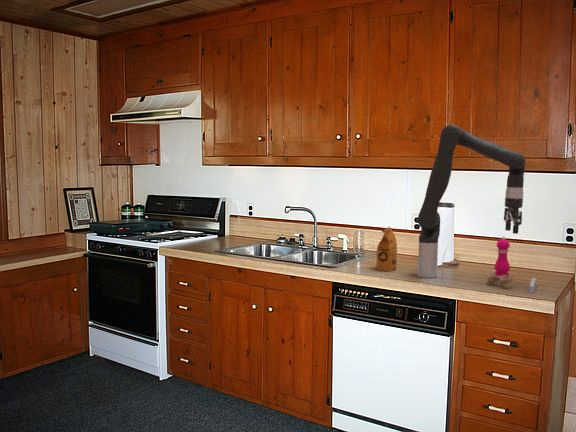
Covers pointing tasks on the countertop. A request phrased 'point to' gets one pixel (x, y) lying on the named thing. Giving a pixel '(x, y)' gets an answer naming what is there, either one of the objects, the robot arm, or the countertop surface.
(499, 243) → the pepper mill
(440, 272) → the countertop surface
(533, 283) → the stop rail
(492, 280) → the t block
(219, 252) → the countertop surface
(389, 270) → the coffee package
